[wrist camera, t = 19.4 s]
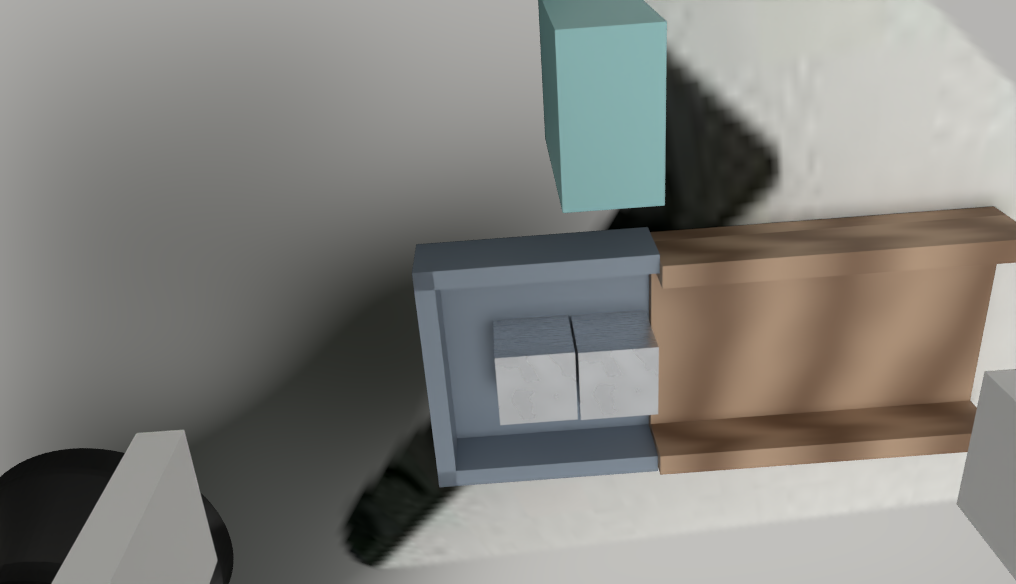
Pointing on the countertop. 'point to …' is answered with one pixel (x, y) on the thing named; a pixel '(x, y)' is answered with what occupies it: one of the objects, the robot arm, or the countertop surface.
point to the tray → (470, 350)
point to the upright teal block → (604, 102)
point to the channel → (821, 337)
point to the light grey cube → (615, 364)
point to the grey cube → (535, 370)
